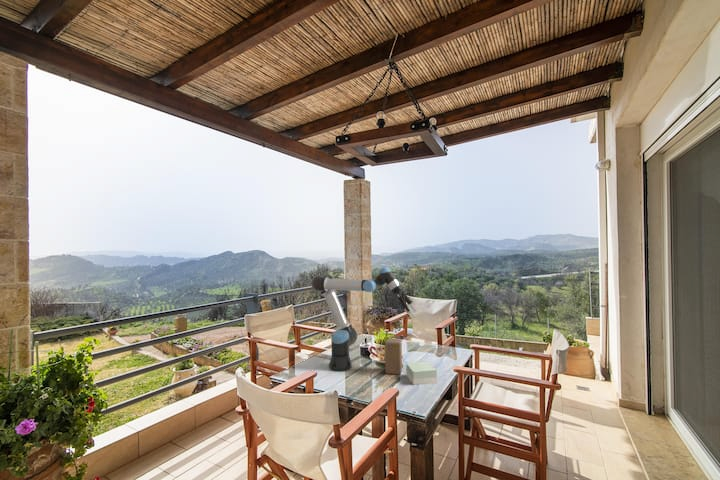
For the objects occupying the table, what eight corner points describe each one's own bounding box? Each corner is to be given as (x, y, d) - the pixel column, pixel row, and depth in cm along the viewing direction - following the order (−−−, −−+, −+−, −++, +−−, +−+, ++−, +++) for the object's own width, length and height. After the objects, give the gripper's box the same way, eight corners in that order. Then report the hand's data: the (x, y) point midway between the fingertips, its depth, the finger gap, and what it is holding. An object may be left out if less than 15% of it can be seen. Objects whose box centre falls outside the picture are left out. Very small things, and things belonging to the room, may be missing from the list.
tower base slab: (413, 385, 187) (413, 378, 188) (406, 376, 201) (406, 370, 201) (436, 383, 190) (436, 377, 190) (427, 374, 204) (427, 368, 204)
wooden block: (400, 375, 202) (400, 342, 203) (385, 374, 204) (384, 342, 205) (402, 369, 212) (401, 338, 213) (386, 368, 214) (386, 337, 215)
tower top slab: (413, 378, 188) (413, 371, 188) (406, 370, 201) (406, 363, 201) (436, 377, 190) (436, 370, 190) (427, 368, 204) (427, 362, 204)
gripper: (395, 285, 207) (415, 314, 202) (403, 282, 230) (421, 307, 226) (386, 292, 208) (405, 320, 204) (395, 288, 232) (412, 313, 227)
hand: (414, 313), depth 215 cm, fingers open, 13 cm apart
